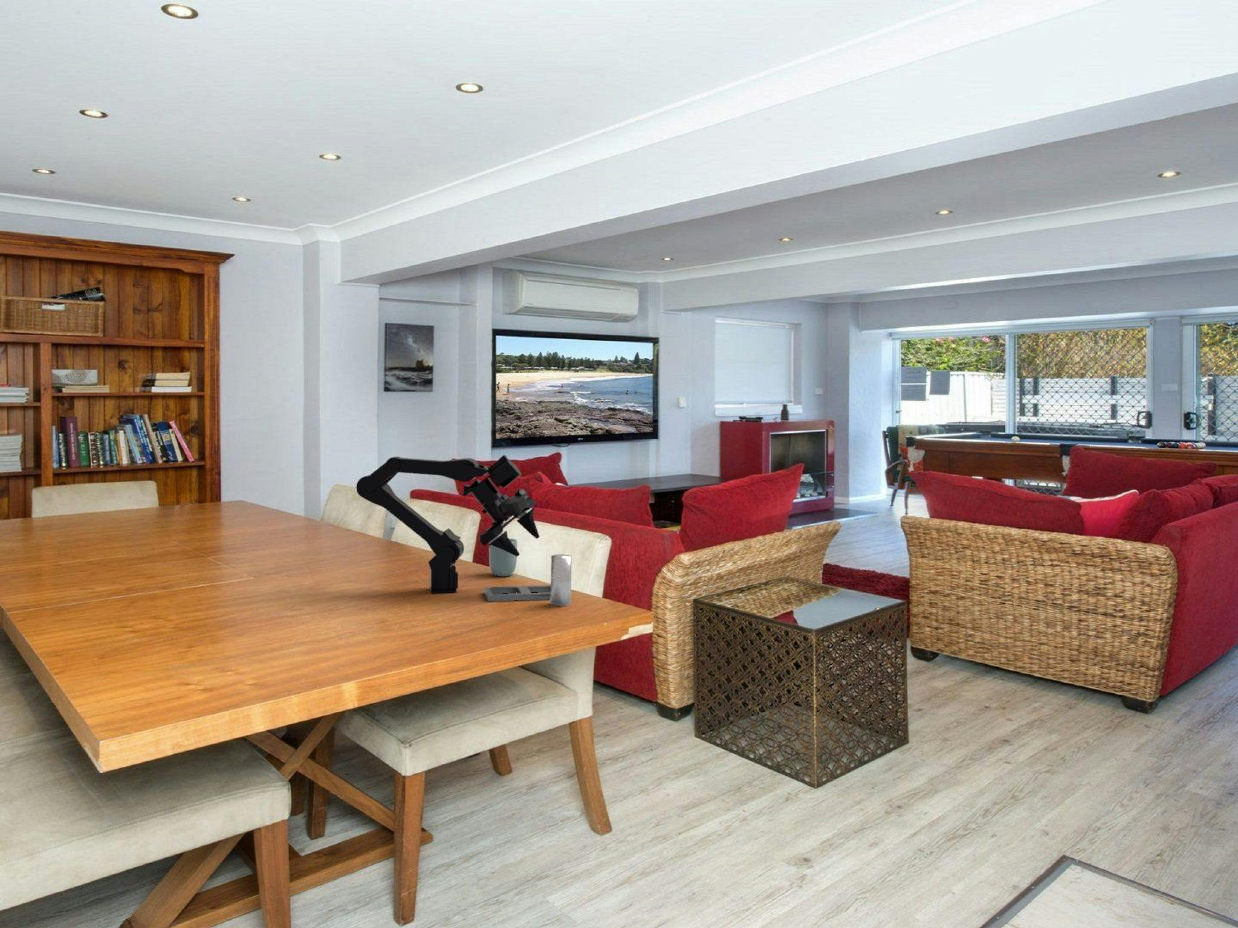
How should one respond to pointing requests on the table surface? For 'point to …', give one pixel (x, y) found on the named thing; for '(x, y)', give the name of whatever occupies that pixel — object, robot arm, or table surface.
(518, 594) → the grey divided tray
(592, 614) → the table surface
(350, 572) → the table surface
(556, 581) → the peg
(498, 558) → the cup
